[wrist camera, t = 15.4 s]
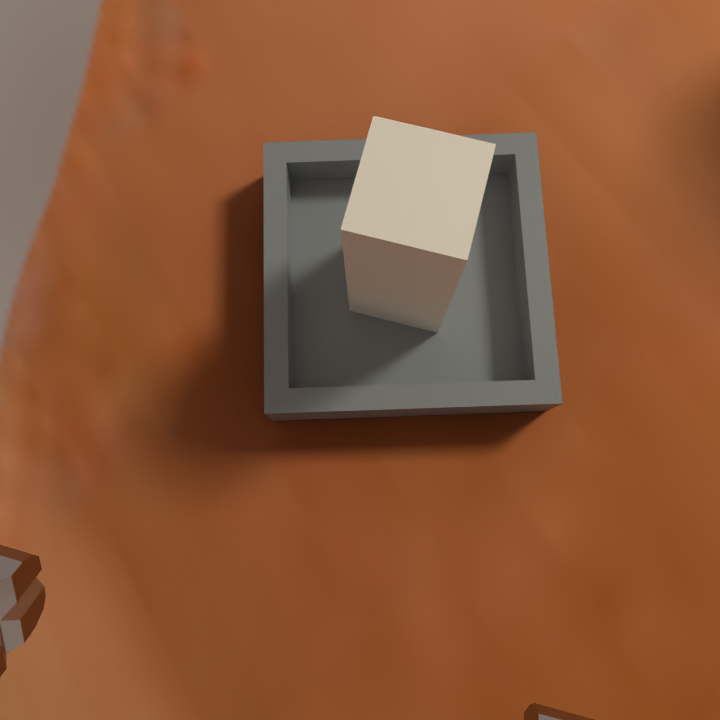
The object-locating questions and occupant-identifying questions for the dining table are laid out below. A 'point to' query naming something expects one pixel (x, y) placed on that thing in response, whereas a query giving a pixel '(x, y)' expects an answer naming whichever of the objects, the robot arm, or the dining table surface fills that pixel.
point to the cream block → (412, 221)
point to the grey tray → (394, 340)
